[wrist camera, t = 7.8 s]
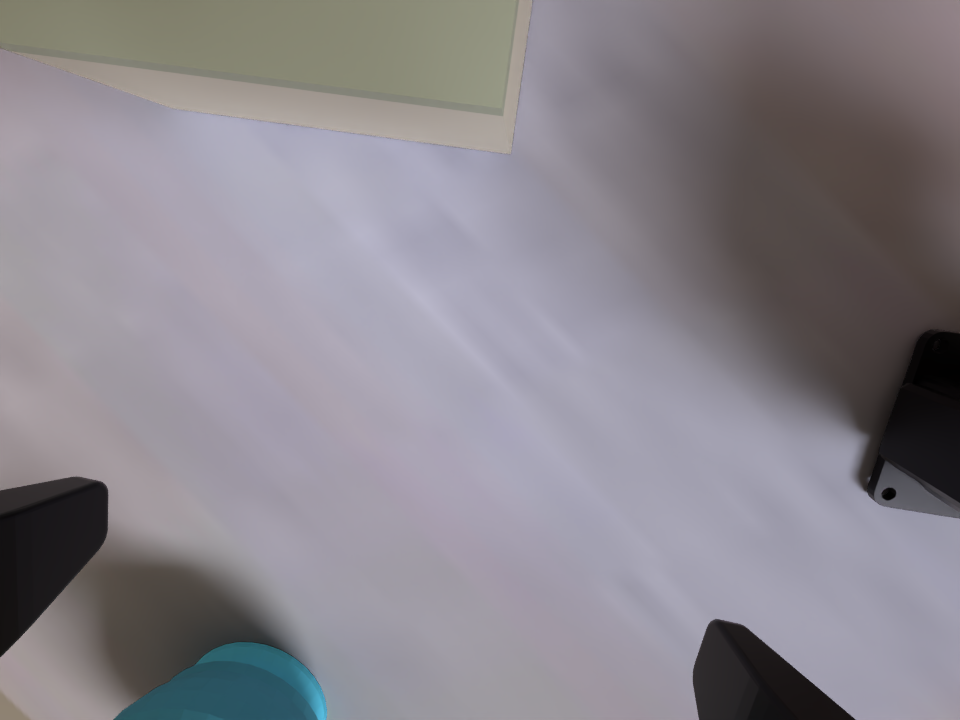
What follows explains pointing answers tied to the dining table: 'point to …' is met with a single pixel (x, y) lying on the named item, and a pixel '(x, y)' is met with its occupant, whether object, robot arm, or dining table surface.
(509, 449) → the dining table surface
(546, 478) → the dining table surface
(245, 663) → the perfume bottle
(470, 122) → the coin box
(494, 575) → the dining table surface
